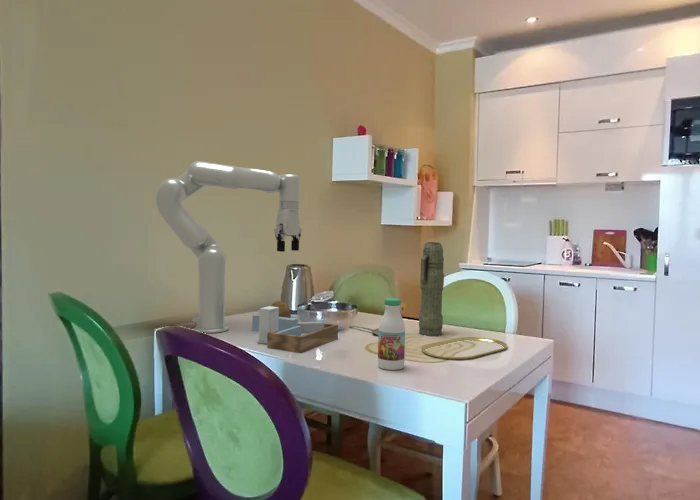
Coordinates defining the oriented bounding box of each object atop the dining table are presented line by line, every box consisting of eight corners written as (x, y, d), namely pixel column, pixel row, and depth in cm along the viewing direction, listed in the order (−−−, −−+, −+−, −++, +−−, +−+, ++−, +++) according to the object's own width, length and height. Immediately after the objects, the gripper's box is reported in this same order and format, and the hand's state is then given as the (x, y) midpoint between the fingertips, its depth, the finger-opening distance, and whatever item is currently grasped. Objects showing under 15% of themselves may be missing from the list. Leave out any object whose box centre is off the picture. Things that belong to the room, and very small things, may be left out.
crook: (224, 339, 183) (224, 322, 183) (257, 329, 201) (258, 314, 200) (270, 346, 175) (271, 328, 174) (301, 335, 192) (301, 319, 192)
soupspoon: (382, 341, 191) (394, 339, 195) (383, 332, 191) (395, 330, 195) (342, 328, 207) (354, 327, 211) (343, 320, 207) (355, 319, 211)
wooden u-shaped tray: (267, 347, 172) (267, 332, 172) (306, 334, 194) (306, 321, 193) (301, 352, 166) (301, 337, 166) (337, 338, 188) (338, 324, 187)
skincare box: (268, 344, 176) (269, 309, 176) (258, 343, 178) (258, 308, 177) (278, 341, 182) (279, 306, 181) (268, 339, 184) (269, 305, 183)
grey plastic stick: (297, 334, 194) (297, 323, 194) (296, 332, 197) (296, 322, 197) (328, 333, 197) (329, 322, 197) (327, 331, 200) (327, 321, 200)
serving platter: (517, 348, 181) (518, 344, 181) (456, 365, 157) (456, 360, 157) (472, 338, 195) (472, 334, 194) (409, 352, 171) (409, 347, 171)
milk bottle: (376, 363, 156) (377, 296, 155) (401, 363, 156) (403, 297, 155) (379, 370, 148) (381, 300, 147) (406, 370, 149) (408, 301, 148)
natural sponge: (262, 325, 207) (262, 301, 207) (276, 322, 215) (277, 298, 214) (280, 328, 202) (280, 303, 202) (294, 325, 210) (294, 300, 210)
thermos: (412, 334, 198) (414, 242, 196) (428, 329, 207) (431, 241, 205) (432, 338, 192) (435, 243, 191) (448, 333, 201) (451, 242, 200)
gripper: (293, 207, 210) (292, 249, 211) (267, 205, 195) (266, 251, 196) (309, 207, 207) (308, 250, 208) (284, 205, 191) (283, 252, 192)
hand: (288, 250), depth 202 cm, fingers open, 9 cm apart
